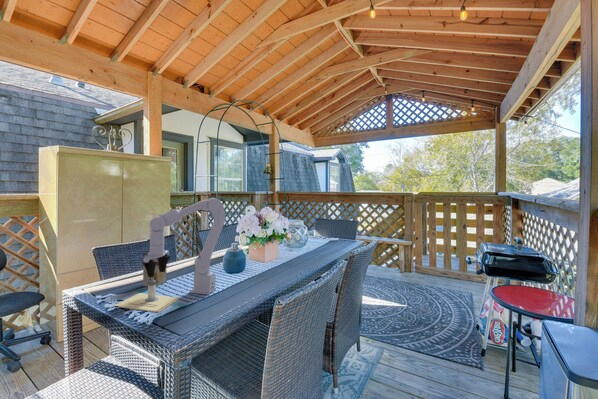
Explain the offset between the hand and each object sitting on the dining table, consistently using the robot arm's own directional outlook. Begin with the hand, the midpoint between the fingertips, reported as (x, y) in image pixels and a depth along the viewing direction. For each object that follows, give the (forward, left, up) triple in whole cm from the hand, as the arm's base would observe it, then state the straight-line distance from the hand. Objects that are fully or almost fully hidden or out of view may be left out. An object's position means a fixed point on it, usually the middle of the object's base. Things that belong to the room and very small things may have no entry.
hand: (156, 274), depth 127 cm
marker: (-2, +6, -9) cm, 11 cm away
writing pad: (-2, +8, -9) cm, 12 cm away
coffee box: (+10, -12, -10) cm, 19 cm away
